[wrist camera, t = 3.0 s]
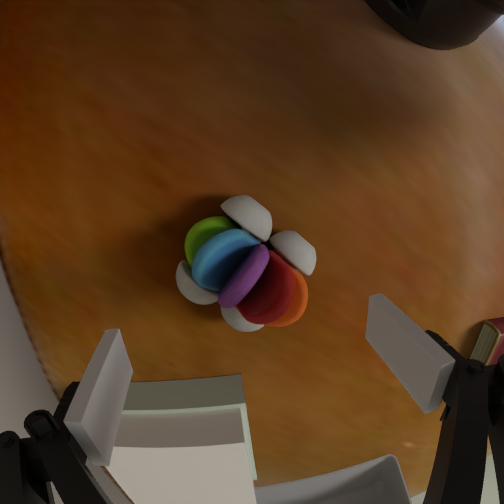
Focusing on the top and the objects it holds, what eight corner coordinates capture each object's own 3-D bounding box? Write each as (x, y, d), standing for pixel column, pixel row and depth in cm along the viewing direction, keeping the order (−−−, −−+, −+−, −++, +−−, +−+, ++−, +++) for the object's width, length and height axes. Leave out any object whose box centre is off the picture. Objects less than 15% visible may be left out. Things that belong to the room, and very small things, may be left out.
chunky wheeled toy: (256, 326, 27) (270, 380, 20) (161, 263, 24) (144, 306, 17) (321, 251, 26) (358, 288, 19) (227, 176, 23) (232, 187, 16)
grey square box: (103, 382, 27) (82, 440, 20) (241, 374, 28) (250, 437, 21) (143, 460, 32) (137, 510, 24) (253, 454, 33) (261, 507, 25)
